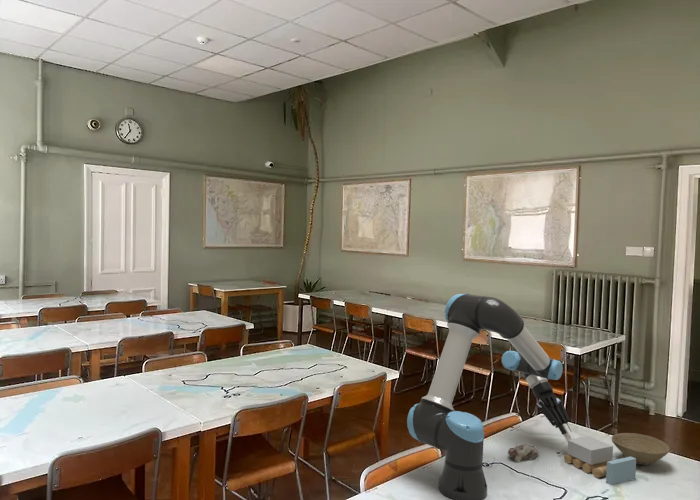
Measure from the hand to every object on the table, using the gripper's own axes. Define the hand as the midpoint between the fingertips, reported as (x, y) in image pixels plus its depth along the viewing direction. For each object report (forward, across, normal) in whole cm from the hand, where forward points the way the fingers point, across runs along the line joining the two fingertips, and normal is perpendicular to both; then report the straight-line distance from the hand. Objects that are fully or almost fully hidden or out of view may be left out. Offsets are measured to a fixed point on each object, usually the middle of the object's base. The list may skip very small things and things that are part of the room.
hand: (571, 441), depth 192 cm
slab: (+8, 0, +4) cm, 9 cm away
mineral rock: (0, +17, -9) cm, 20 cm away
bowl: (+14, -20, +5) cm, 24 cm away
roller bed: (+11, 0, +3) cm, 11 cm away
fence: (+19, 0, +11) cm, 21 cm away
